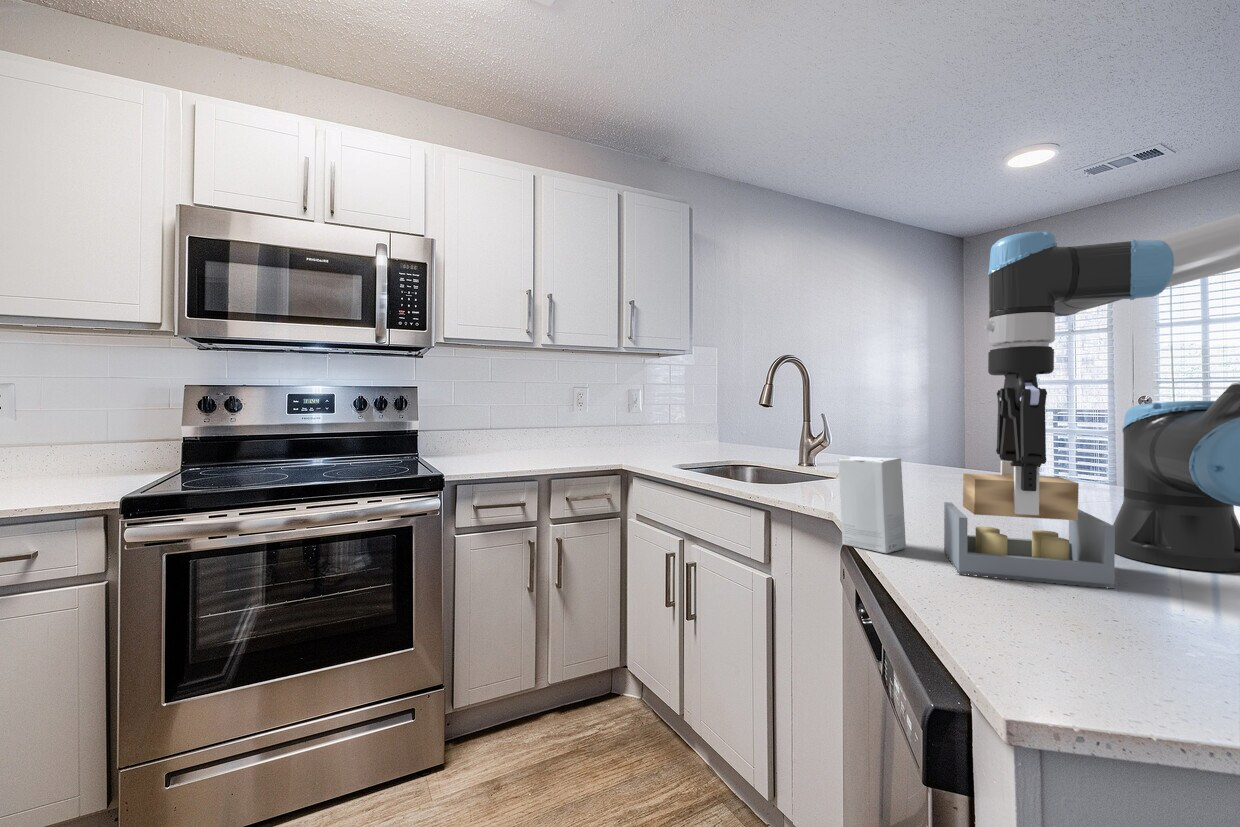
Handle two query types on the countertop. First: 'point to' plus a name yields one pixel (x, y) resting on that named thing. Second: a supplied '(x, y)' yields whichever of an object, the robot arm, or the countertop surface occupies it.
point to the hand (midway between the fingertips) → (1018, 509)
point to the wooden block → (998, 496)
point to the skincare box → (872, 503)
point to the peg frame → (1034, 552)
